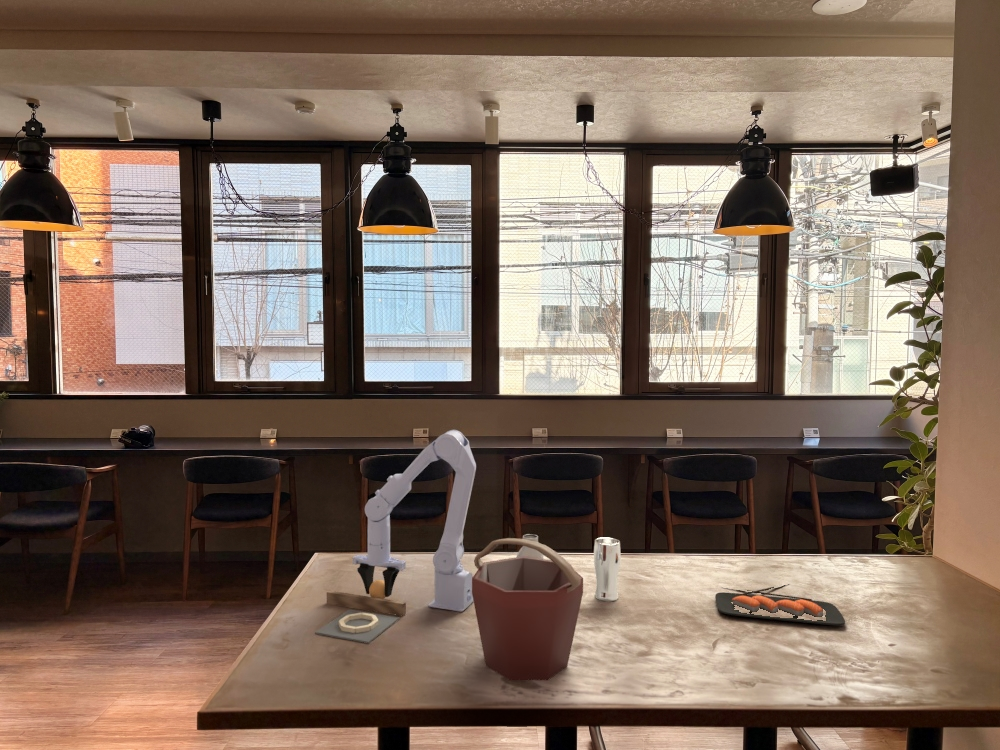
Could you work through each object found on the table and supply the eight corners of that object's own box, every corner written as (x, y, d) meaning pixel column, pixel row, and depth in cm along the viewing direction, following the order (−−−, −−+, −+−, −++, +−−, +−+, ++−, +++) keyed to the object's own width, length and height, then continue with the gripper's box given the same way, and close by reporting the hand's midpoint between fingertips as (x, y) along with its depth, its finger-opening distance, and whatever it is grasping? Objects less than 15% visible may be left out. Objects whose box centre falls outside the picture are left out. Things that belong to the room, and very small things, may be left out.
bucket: (450, 654, 139) (450, 538, 138) (526, 627, 153) (527, 521, 152) (527, 702, 120) (529, 568, 120) (607, 666, 135) (608, 546, 134)
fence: (405, 614, 160) (405, 602, 160) (403, 616, 159) (403, 604, 159) (329, 602, 168) (329, 590, 168) (326, 603, 166) (326, 592, 166)
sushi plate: (718, 619, 160) (718, 604, 160) (709, 578, 189) (709, 565, 189) (848, 633, 153) (849, 617, 153) (818, 588, 182) (819, 574, 182)
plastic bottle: (541, 624, 155) (542, 541, 154) (513, 621, 156) (514, 539, 155) (545, 613, 161) (546, 533, 160) (518, 611, 163) (519, 531, 162)
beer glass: (618, 593, 176) (619, 537, 175) (621, 602, 169) (621, 545, 168) (592, 591, 176) (593, 536, 176) (593, 601, 169) (594, 544, 169)
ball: (392, 597, 171) (392, 578, 171) (382, 604, 166) (382, 584, 166) (375, 594, 173) (375, 576, 172) (365, 601, 168) (365, 582, 168)
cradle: (399, 619, 157) (399, 613, 157) (369, 643, 144) (369, 637, 144) (349, 610, 162) (349, 605, 162) (315, 633, 149) (315, 627, 149)
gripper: (411, 541, 170) (411, 592, 171) (362, 535, 175) (362, 585, 176) (398, 548, 164) (397, 602, 164) (348, 542, 168) (348, 594, 169)
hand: (378, 594), depth 169 cm, fingers closed on ball, 5 cm apart
